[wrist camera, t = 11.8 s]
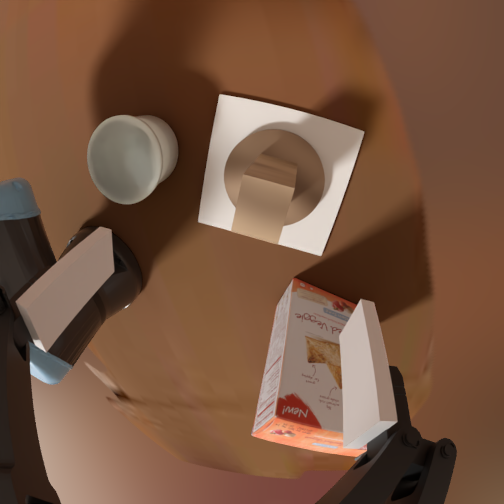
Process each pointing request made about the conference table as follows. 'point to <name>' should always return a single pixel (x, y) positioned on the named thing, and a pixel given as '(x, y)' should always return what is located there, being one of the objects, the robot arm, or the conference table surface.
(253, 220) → the lid
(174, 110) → the conference table surface
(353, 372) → the robot arm
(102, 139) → the bowl
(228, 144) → the mat
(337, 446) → the cracker box
